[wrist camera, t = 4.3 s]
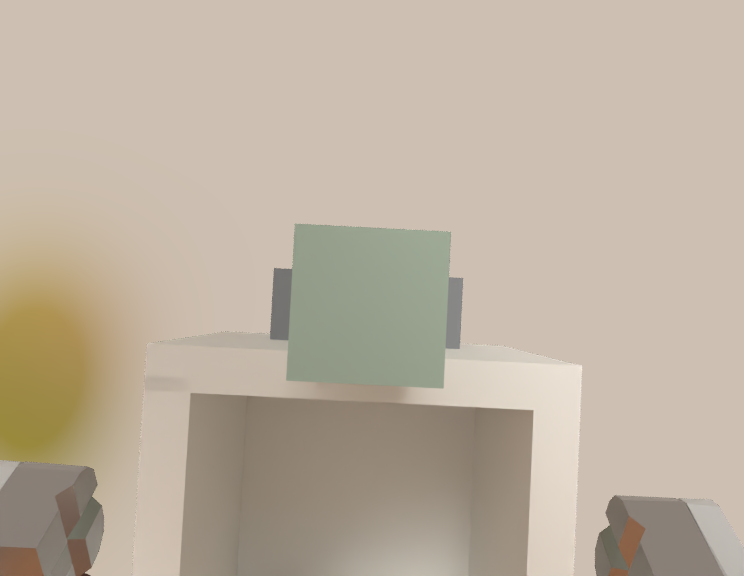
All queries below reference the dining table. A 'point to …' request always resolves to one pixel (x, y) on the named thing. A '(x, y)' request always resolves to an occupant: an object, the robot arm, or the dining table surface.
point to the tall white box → (354, 466)
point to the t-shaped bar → (367, 306)
